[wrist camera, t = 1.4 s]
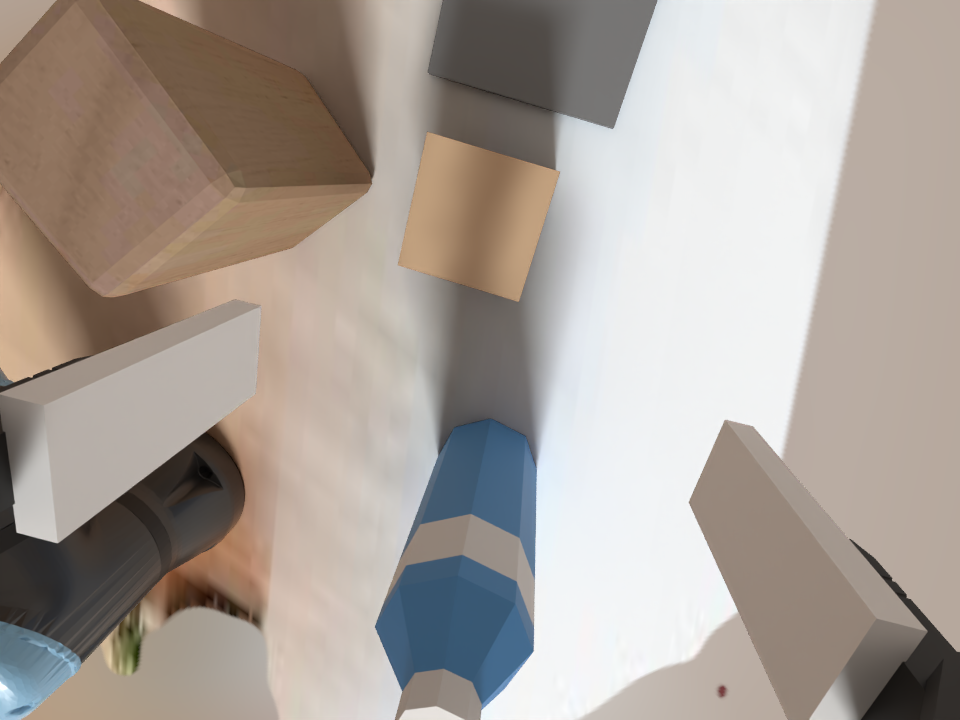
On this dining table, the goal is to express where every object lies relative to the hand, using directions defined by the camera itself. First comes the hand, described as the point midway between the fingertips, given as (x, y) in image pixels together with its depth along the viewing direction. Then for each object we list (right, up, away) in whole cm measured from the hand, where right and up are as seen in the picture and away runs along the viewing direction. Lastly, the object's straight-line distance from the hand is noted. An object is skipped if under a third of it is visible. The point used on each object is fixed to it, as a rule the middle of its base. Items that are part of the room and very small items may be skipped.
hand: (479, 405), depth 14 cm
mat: (+5, +26, +21) cm, 34 cm away
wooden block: (-15, +17, +27) cm, 35 cm away
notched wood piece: (+1, +13, +26) cm, 29 cm away
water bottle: (+1, -8, +34) cm, 35 cm away
